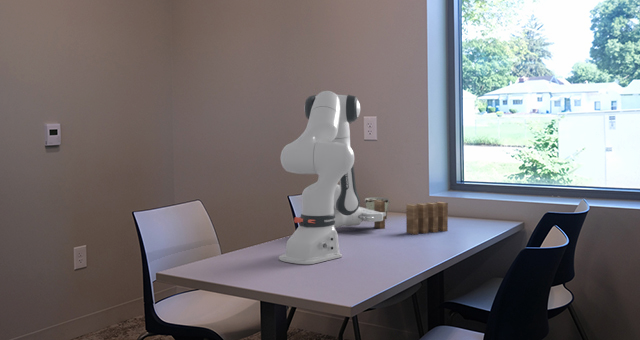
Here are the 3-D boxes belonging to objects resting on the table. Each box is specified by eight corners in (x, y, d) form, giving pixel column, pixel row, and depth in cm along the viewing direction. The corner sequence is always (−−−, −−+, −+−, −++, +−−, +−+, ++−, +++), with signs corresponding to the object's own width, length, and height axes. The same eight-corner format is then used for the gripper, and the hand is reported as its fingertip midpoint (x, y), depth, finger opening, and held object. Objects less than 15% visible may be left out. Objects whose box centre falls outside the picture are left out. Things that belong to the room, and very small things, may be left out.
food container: (389, 217, 265) (389, 197, 264) (389, 219, 259) (389, 198, 258) (364, 217, 266) (364, 197, 266) (364, 219, 260) (364, 198, 260)
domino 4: (433, 232, 223) (433, 204, 222) (426, 230, 227) (426, 202, 226) (438, 232, 224) (438, 203, 223) (430, 230, 228) (430, 202, 227)
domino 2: (413, 234, 218) (413, 205, 218) (406, 232, 223) (406, 204, 222) (418, 234, 219) (418, 205, 219) (411, 232, 224) (411, 204, 223)
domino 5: (443, 231, 225) (443, 203, 224) (435, 229, 229) (435, 202, 228) (447, 231, 226) (447, 203, 225) (440, 229, 230) (440, 201, 229)
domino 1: (380, 228, 233) (380, 201, 232) (374, 227, 237) (374, 200, 237) (384, 228, 234) (384, 201, 233) (379, 226, 238) (378, 200, 238)
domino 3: (423, 233, 221) (423, 204, 220) (416, 231, 225) (416, 203, 224) (428, 233, 222) (428, 204, 221) (421, 231, 226) (421, 203, 225)
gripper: (365, 211, 220) (393, 208, 226) (343, 205, 239) (370, 203, 244) (365, 226, 221) (393, 223, 226) (343, 219, 239) (370, 216, 245)
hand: (381, 213), depth 236 cm, fingers closed on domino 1, 5 cm apart
